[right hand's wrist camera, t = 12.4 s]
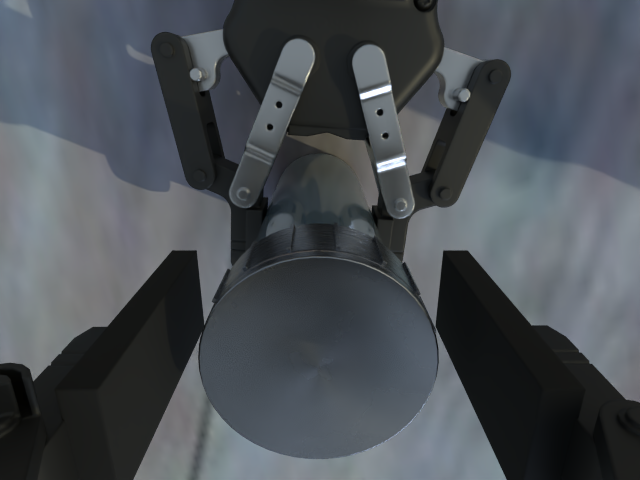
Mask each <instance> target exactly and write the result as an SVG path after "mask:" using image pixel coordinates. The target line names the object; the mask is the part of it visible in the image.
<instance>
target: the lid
mask: <svg viewBox="0 0 640 480" xmlns="http://www.w3.org/2000/svg"><path fill="white" fill-rule="evenodd" d="M419 295H420V292H419V290H418V288H417V285H416V283H415V281H414V279H413V277H412V275H411V273H410V271H409V268H408V266H407V264H406V263H405V262H404V263H403V264H402V262H401V261H400V260H399V259H398V258H397V256H396V255H395V254H394V253H393V252H392V251H391V250H390V249H388V248H387V247H386V246H385V245H383V244H382V243H381V242H379V240H378V237H376V236H374V237H371V236H369V235H367V234H365V233H363V232H360V231H358V230H355V229H352V228H348V227H345V226H340V225H338V223H336V222H334V224H319V223H313V224H303V225H297V226H295V224H291V225H290V227H289V228H285V229H282V230H280V231H277V232H274V233H272V234H270V235H268V236H266V237H265V238H263V239H261V240H260V241H258V242H256V240H255V241H254V242H252V245H251V247H250V248H249V249H248V250H247V251H246V252H245V253H244V254H242V255H241V257H240V258H239V259H238V260H237V262H236V263H235V264H234V265H233V267H232V269H231V270H229V269H227V271H226V273H225V275H224V277H223V279H222V281H221V283H220V285H219V288H218V290H217V292H216V294H215V296H214V298H213V300H212V302H213V303H214V305H213V307H212V310H211V312H210V314H209V316H208V318H207V321H206V323H205V326H204V328H203V330H202V335H201V337H200V343H199V355H198V360H199V371H200V375H201V379H202V384H203V386H204V389H205V391H206V394H207V396H208V398H209V400H210V401H211V403H212V405H213V407H214V408H215V410H216V411H217V412H218V413H219V415H220V416H221V417H222V419H223V420H224V421H225V422H226V423H227V424H228V425H229V426H231V427H232V428H233V429H234V430H235V431H237V432H238V433H239V434H240V435H242V436H243V437H245V438H246V439H248V440H250V441H251V442H253V443H255V444H257V445H259V446H261V447H263V448H265V449H268V450H271V451H274V452H277V453H279V454H283V455H288V456H292V457H299V458H307V459H329V458H339V457H344V456H350V455H354V454H357V453H360V452H364V451H367V450H369V449H371V448H374V447H376V446H378V445H380V444H382V443H384V442H386V441H387V440H389V439H391V438H392V437H394V436H395V435H396V434H398V433H399V432H401V431H402V430H403V429H404V428H405V427H406V426H407V425H409V424H410V423H411V422H412V421H413V419H414V418H415V417H416V416H417V415H418V414H419V412H420V411H421V409H422V408H423V406H424V405H425V403H426V402H427V400H428V398H429V396H430V394H431V391H432V389H433V386H434V383H435V380H436V376H437V370H438V363H439V358H438V344H437V338H436V334H435V333H436V329H435V327H434V325H433V323H432V320H431V318H430V316H429V314H428V312H427V310H426V308H425V305H424V303H423V301H422V299H421V297H420V296H419Z"/></svg>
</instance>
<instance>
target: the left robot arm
mask: <svg viewBox="0 0 640 480" xmlns="http://www.w3.org/2000/svg"><path fill="white" fill-rule="evenodd" d="M437 2H438V0H234V4H233V6H232V9H231V11H230V13H229V15H228V16H227V18H226V20H225V23H224V27H223V29H220V30H214V31H209V32H203V33H198V34H192V35H187V36H179V35H176V34H172V33H169V32H162V33H159V34H157V35H156V36H155V37H154V39H153V40H152V43H151V52H152V56H153V60H154V63H155V67H156V71H157V74H158V78H159V82H160V85H161V89H162V93H163V97H164V100H165V104H166V108H167V111H168V115H169V119H170V122H171V126H172V130H173V133H174V137H175V141H176V145H177V148H178V152H179V156H180V159H181V163H182V167H183V170H184V174H185V178H186V180H187V182H188V183H189V185H190V186H192V187H193V188H195V189H198V190H204V189H207V190H210V191H212V192H214V193H217V194H219V195H221V196H223V197H224V198H225V199H226V200H227V201H228V203H229V205H230V207H231V263H232V266H233V265H234V264H235V263H236V262H237V260H238V259H239V258H240V257H241V255H242V254H244V253H245V252H246V251H247V250H248V249H249V248H250V247H251V245H252V242H254V241H255V240H256V238H257V235H258V233H259V230H260V228H261V225H262V223H263V220H264V217H265V215H266V212H267V210H268V198H266V197H263V188H264V185H265V183H266V180H267V178H268V176H269V173H270V171H271V169H272V166H273V164H274V161H275V159H276V157H277V154H278V152H279V150H280V148H281V145H282V143H283V141H284V138H285V136H286V134H287V132H288V135H298V136H311V135H316V134H321V133H331V134H334V135H337V136H339V137H342V138H345V139H352V140H365V143H366V147H367V151H368V155H369V158H370V161H371V164H372V168H373V172H374V176H375V180H376V184H377V188H378V192H379V197H378V205H377V206H374V205H372V212H371V214H372V216H373V219H374V221H375V224H376V226H377V229H378V232H379V234H380V237H381V239H382V242H383V244H384V245H385V246H386V247H387V248H388V249H390V250H391V251H392V252H393V253H394V254H395V255H396V256H397V258H398V259H399V260H400V261H401V262H402V261H403V253H404V247H405V241H406V234H407V227H408V222H409V220H410V218H411V216H412V215H413V214H414V213H416V212H417V211H419V210H421V209H425V208H428V207H432V206H436V205H437V206H439V207H444V208H445V207H449V206H452V205H453V204H454V203H455V202H456V201H457V200H458V198H459V196H460V193H461V191H462V189H463V187H464V184H465V182H466V180H467V177H468V175H469V173H470V171H471V168H472V166H473V164H474V161H475V159H476V157H477V154H478V152H479V150H480V148H481V145H482V143H483V141H484V138H485V136H486V134H487V132H488V129H489V127H490V125H491V122H492V120H493V118H494V115H495V113H496V111H497V109H498V106H499V104H500V102H501V99H502V97H503V95H504V93H505V90H506V88H507V86H508V83H509V81H510V78H511V70H510V67H509V66H508V64H507V63H506V62H504V61H503V60H499V59H495V60H492V59H487V60H480V59H477V58H475V57H472V56H469V55H466V54H463V53H461V52H458V51H455V50H452V49H449V48H447V47H444V39H443V35H442V33H441V30H440V27H439V23H438V17H437ZM229 56H230V58H231V59H232V61H233V63H234V64H235V66H236V67H237V69H238V70H239V72H240V74H241V75H242V77H243V78H244V80H245V81H246V83H247V84H248V86H249V88H250V89H251V91H252V92H253V94H254V95H255V97H256V99H257V100H258V102H259V103H260V105H261V107H260V110H259V112H258V115H257V118H256V120H255V123H254V125H253V128H252V130H251V133H250V135H249V138H248V140H247V143H246V146H245V151H244V154H243V156H242V159H241V161H240V164H236V163H234V162H232V161H229V160H227V159H225V156H224V152H223V148H222V144H221V140H220V135H219V131H218V127H217V123H216V118H215V114H214V110H213V106H212V101H211V97H210V93H209V90H212V89H214V88H215V87H216V86H217V85H218V84H219V82H220V67H221V64H222V62H223V61H224V60H225V59H226V58H227V57H229ZM433 73H435V74H436V75H437V77H438V79H439V82H440V89H439V93H438V98H439V101H440V103H441V105H442V106H444V107H445V108H447V109H446V111H445V114H444V116H443V119H442V121H441V124H440V126H439V129H438V131H437V134H436V136H435V139H434V141H433V144H432V146H431V149H430V151H429V154H428V156H427V159H426V162H425V164H424V167H423V169H422V172H421V173H419V174H415V175H412V176H409V174H408V169H407V165H406V152H405V148H404V143H403V139H402V134H401V130H400V125H399V121H398V116H397V114H398V113H399V112H400V111H401V110H402V108H403V107H404V106H405V105H406V104H407V103H408V102H409V100H410V99H411V98H412V97H413V96H414V95H415V94H416V92H417V91H418V90H419V89H420V88H421V87H422V85H423V84H424V83H425V82H426V81H427V80H428V79H429V77H430V76H431V75H432V74H433Z"/></svg>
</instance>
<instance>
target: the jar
mask: <svg viewBox="0 0 640 480" xmlns="http://www.w3.org/2000/svg"><path fill="white" fill-rule="evenodd" d="M334 222H336V223H338V225H340V226H345V227H348V228H352V229H355V230H358V231H360V232H363V233H365V234H367V235H369V236H371V237H374V236H376V237H378V240H379V242H381V243H382V244H383V242H382V239H381V237H380V234H379V232H378V229H377V226H376V224H375V221H374V219H373V216H372V214H371V211H370V208H369V206H368V203H367V201H366V198H365V196H364V193H363V190H362V188H361V185H360V183H359V180H358V178H357V176H356V174H355V172H354V171H353V170H352V168H351V167H350V166H349V165H348V164H347V163H345V162H344V161H343V160H341V159H339V158H337V157H335V156H332V155H329V154H323V153H315V154H309V155H305V156H303V157H300V158H298V159H297V160H295V161H294V162H292V163H291V164H290V165H289V166H288V167H287V168H286V169H285V170H284V172H283V173H282V175H281V177H280V179H279V182H278V184H277V187H276V189H275V192H274V195H273V197H272V200H271V202H270V205H269V207H268V210H267V212H266V215H265V217H264V220H263V223H262V225H261V228H260V230H259V233H258V235H257V238H256V242H258V241H260V240H261V239H263V238H265V237H266V236H268V235H270V234H272V233H274V232H277V231H280V230H282V229H285V228H289V227H290V225H291V224H295V226H297V225H303V224H313V223H319V224H334ZM383 245H384V244H383Z"/></svg>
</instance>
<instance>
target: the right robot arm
mask: <svg viewBox="0 0 640 480" xmlns="http://www.w3.org/2000/svg"><path fill="white" fill-rule="evenodd" d="M203 328H204V317H203V308H202V298H201V289H200V279H199V269H198V260H197V251H172V252H171V253H170V254H169V255H168V256H167V258H166V259H165V260H164V261H163V262H162V263H161V265H160V266H159V267H158V268H157V269H156V270H155V272H154V273H153V274H152V275H151V276H150V277H149V279H148V280H147V281H146V282H145V283H144V285H143V286H142V287H141V288H140V289H139V290H138V292H137V293H136V294H135V295H134V296H133V297H132V299H131V300H130V301H129V302H128V303H127V304H126V306H125V307H124V308H123V309H122V310H121V311H120V313H119V314H118V315H117V316H116V317H115V319H114V320H113V321H112V322H111V323H110V324H109V326H108V327H92V328H90V329H89V330H87V331H85V332H84V333H82V334H81V335H79V336H77V337H76V338H74V339H73V340H72V341H71V342H70V343H69V344H68V345H67V346H66V348H65V349H64V350H63V351H62V354H59V355H58V356H57V357H56V358H55V359H54V360H53V361H52V362H51V366H48V367H47V368H46V369H45V370H44V371H43V372H42V373H41V374H40V375H39V376H38V377H37V378H36V379H35V380H34V381H33V380H32V376H31V372H30V369H29V368H27V367H26V366H24V365H23V364H15V363H5V364H0V480H133V479H134V477H135V475H136V472H137V470H138V468H139V466H140V464H141V462H142V460H143V457H144V455H145V453H146V451H147V449H148V447H149V444H150V442H151V440H152V438H153V436H154V434H155V432H156V429H157V427H158V425H159V423H160V421H161V419H162V416H163V414H164V412H165V410H166V408H167V406H168V404H169V401H170V399H171V397H172V395H173V393H174V391H175V388H176V386H177V384H178V382H179V380H180V378H181V376H182V373H183V371H184V369H185V367H186V365H187V363H188V361H189V358H190V356H191V354H192V352H193V350H194V348H195V345H196V343H197V341H198V339H199V337H200V335H201V333H202V330H203ZM436 328H437V330H438V333H439V335H440V337H441V339H442V341H443V343H444V345H445V348H446V350H447V352H448V354H449V356H450V358H451V360H452V363H453V365H454V367H455V369H456V371H457V373H458V376H459V378H460V380H461V382H462V384H463V386H464V388H465V391H466V393H467V395H468V397H469V399H470V401H471V404H472V406H473V408H474V410H475V412H476V414H477V416H478V419H479V421H480V423H481V425H482V427H483V429H484V432H485V434H486V436H487V438H488V440H489V442H490V444H491V447H492V449H493V451H494V453H495V455H496V457H497V460H498V462H499V464H500V466H501V468H502V470H503V472H504V475H505V477H506V479H507V480H640V403H639V402H636V401H631V400H626V399H625V398H624V397H623V396H622V395H621V394H620V393H619V392H618V391H617V390H616V389H615V388H614V387H613V386H612V385H611V384H610V383H609V381H608V380H607V379H606V378H605V377H604V376H603V375H602V374H601V373H600V372H599V371H598V370H597V369H596V368H595V367H594V366H593V365H592V364H589V360H588V359H587V358H586V357H585V356H584V355H583V354H582V353H579V350H578V349H577V348H576V347H575V346H574V345H573V344H572V342H571V341H570V340H569V339H568V338H567V337H566V336H564V335H562V334H561V333H559V332H557V331H556V330H554V329H552V328H551V327H549V326H531V324H530V323H529V322H528V321H527V320H526V319H525V317H524V316H523V315H522V314H521V313H520V311H519V310H518V309H517V308H516V307H515V306H514V304H513V303H512V302H511V301H510V300H509V299H508V297H507V296H506V295H505V294H504V293H503V292H502V290H501V289H500V288H499V287H498V286H497V284H496V283H495V282H494V281H493V280H492V279H491V277H490V276H489V275H488V274H487V273H486V272H485V270H484V269H483V268H482V267H481V266H480V265H479V263H478V262H477V261H476V260H475V259H474V258H473V256H472V255H471V254H470V253H469V252H468V251H443V260H442V269H441V279H440V289H439V298H438V308H437V317H436Z"/></svg>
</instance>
